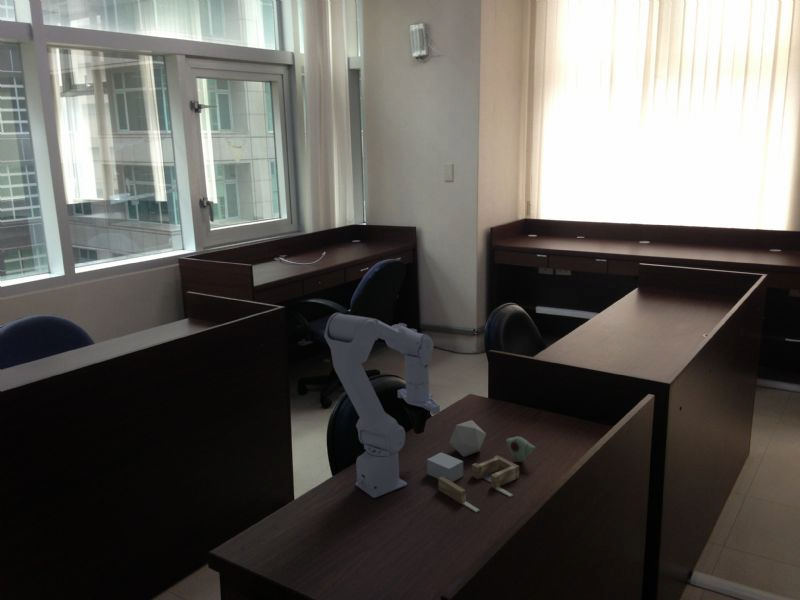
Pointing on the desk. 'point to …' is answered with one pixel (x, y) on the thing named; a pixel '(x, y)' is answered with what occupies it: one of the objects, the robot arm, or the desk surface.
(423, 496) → the desk surface
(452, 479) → the grey block
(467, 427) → the die
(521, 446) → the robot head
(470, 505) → the rails
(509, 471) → the channel
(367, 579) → the desk surface
